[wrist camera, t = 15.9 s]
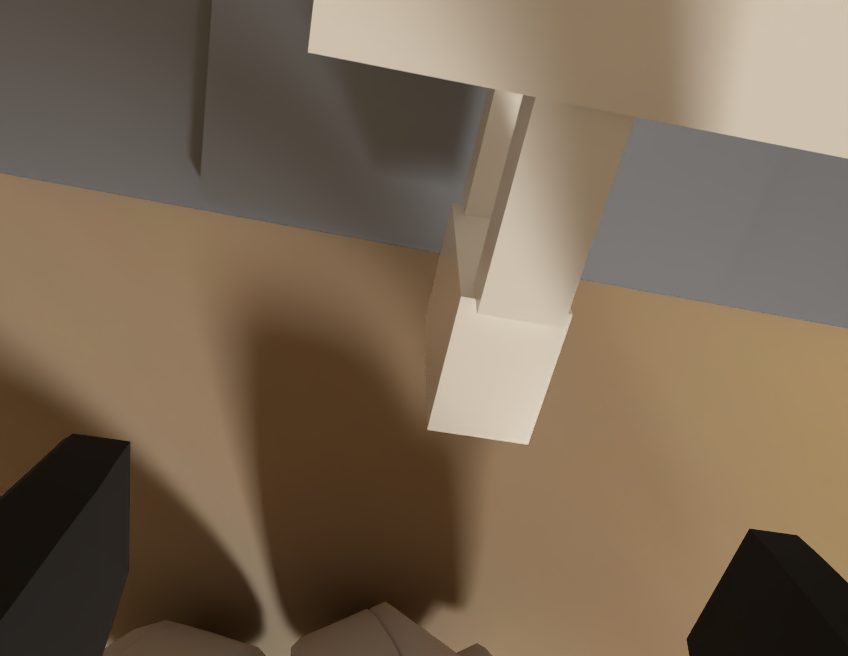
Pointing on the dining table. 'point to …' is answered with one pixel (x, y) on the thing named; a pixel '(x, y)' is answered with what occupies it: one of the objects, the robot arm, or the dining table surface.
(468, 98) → the board
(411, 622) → the headphones
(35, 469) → the robot arm
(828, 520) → the dining table surface
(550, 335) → the beige upright block
